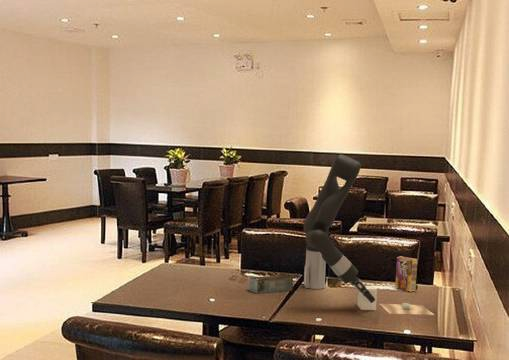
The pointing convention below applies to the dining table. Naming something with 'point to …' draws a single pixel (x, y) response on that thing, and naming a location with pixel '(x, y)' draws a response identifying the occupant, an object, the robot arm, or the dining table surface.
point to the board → (413, 310)
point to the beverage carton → (271, 284)
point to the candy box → (406, 273)
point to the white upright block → (364, 302)
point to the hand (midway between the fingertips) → (371, 299)
